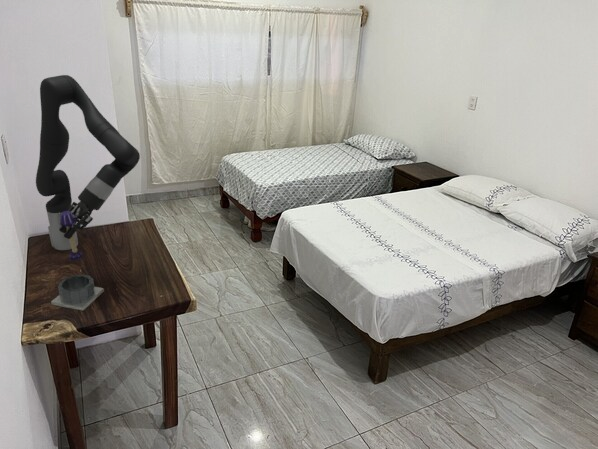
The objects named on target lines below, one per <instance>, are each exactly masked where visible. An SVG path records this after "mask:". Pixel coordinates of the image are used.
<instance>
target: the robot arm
mask: <svg viewBox="0 0 598 449" xmlns="http://www.w3.org/2000/svg"><path fill="white" fill-rule="evenodd" d="M39 85H40V86H39V98H40V109H41V118H40V119H41V120H40V121H41V122H40V126H41V127H40V136H39V157H38V158H39V159H38V166H37V169H36V175H35V186H36V189H37V192H38V193H39V194H40V195H41V196H43V197H52V196H53V197H52V198H50V199H49V200H48V201H47V202H46V203H45V211H46V214H47V218H48V224H49V226H48V227H47V230H48V234H49V238H50V243H51V247H52V248H54V249H55V250H58V251H69V250H72V248H71V244H70V240H69V239H70V238H71V237H72V236H74V237H75V241H76V246H77V247H78V245H79V239H78V234H77V231H83V230H84V229H85V228H86V227H87V226H88V225H90V223H91V222H92V221H93V220H94V218H93V217H92V216H91V215H92V213H93V211H99V210H101V208H102V206H103V205H104V203H106V201H107V200H108V198H109V197H110V196H111V195H112V193H113V191H114V190H115V188H116V187H117V186H118V184H119V183H120V181H121V180H122V179H123V178H124V177H125V176H126V175H128V174H129V173H130V172H131V171H132V170H134V168H135V167H136V166H137V165H138V163H139V161H140V152H139V150H138V149H137V148H136V147H134V146H133V145H132V144H131V143H130V142H129V140H127V139H126V138H124V136H123V135H121V134H120V131H118V130H117V128H116V127H114V125H112V123H110V122H109V120H107V118H106V117H105V116H104V115H103V114H102V113H101V112H100V111H99V109H98V108H97V107H96V105H95V104H94V102H92V99H91V98H90V97H89V95H88V94H87V93H86V91H85V89H83V88H82V86H81V85H80V83H79V82H78V81H77V80H76V79H75V78H73V77H72V76H70V75H69V74H62V75H56V76H55V75H54V76H50V77H49V76H48V77H46V78H44V79H42V80H41V82H40V84H39ZM72 103H73V104H74V105H75V106H77V107H78V108H79V109H80V110H81V112H82V114H83V119H84V123H85V126H86V128H87V131H88V132H89V133H90V134H91V135H92V136H93V138H95V139H96V140H97V141H98V142H99V143H100V144H101V145H102V146H103V147H104V148H105V149H106V150H107V152H109V153H110V155H111V156H112V157H113V158H114V160H112V162H111V163H106V164H104V165H103V166H102V167H101V169H100V170H99V171H98V172H97V173H96V175H94V177H93V178H92V179H91V180H90V181H89V182H88V183H87V185H86V186H85V187H84V189H82V191H81V192H80V194H79V195H78V196H77V198H78V200H79V201H78V202H75V201H73V202H72V194H71V193H72V190H71V185H70V184H71V183H70V179H69V178H68V175H67V173H66V172H65V171H64V170H62V169H56V168H57V167H58V165H59V164H60V163H61V161H63V159H64V157H66V155H67V153H68V151H69V144H70V133H69V130H68V129H67V127H66V126H65V124H64V123H63V122H62V120H61V119H60V108H61V106H64V105H68V104H72ZM64 211H70V212H71V213H72V215H73V216H74V218H73V220H74V221H73V223H72V225H71V227H69V229H68V230H67V228H66V226H61V225H60V217H61V213H62V212H64ZM73 234H74V235H73Z"/></svg>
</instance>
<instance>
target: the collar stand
mask: <svg viewBox="0 0 598 449" xmlns="http://www.w3.org/2000/svg"><path fill="white" fill-rule="evenodd" d="M57 289H58V295H57V296H56V297H54V299H52V300H51V301H50V302H51V304H50V305H51V306H52V305H53V306H58V307H63V308H68V309H71V310H72V309H73V310H78V311H84V310H86V309H87V308H88V307H89V306H90V305H91V304H92V303H93V302H94V301H95V300H96V299H97V298H98V297H100V295H102V294H103V292H105V288H103V287H99V286H95V283H94V278H92V277H91V276H90V275H87V274H82V273H81V274H73V275H70V276H67V277H65V278H63V279H62V280H61V281H59V282H58V286H57Z"/></svg>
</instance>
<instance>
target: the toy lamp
mask: <svg viewBox="0 0 598 449" xmlns="http://www.w3.org/2000/svg"><path fill="white" fill-rule="evenodd" d="M73 218H74V216H73V215H72V213H71V212H70V211H64V212H62V213H61V217H60V225H61V226H66V228H67V230H68V229H69V227H71V225H72V223H73V221H74V220H73ZM73 235H74V234H73ZM69 240H70V244H71V248H72V249H71V252H70V253H69V254H68V259H69V260H71V261H72V260H73V261H77V260H79V259H82V258H83V257H84V256H83V255H84V254H83V253H82V251H79V250H78V248H77V247H78V245H77V246H76V241H75V237H74V236H72V237H71V238H70V239H69Z"/></svg>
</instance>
